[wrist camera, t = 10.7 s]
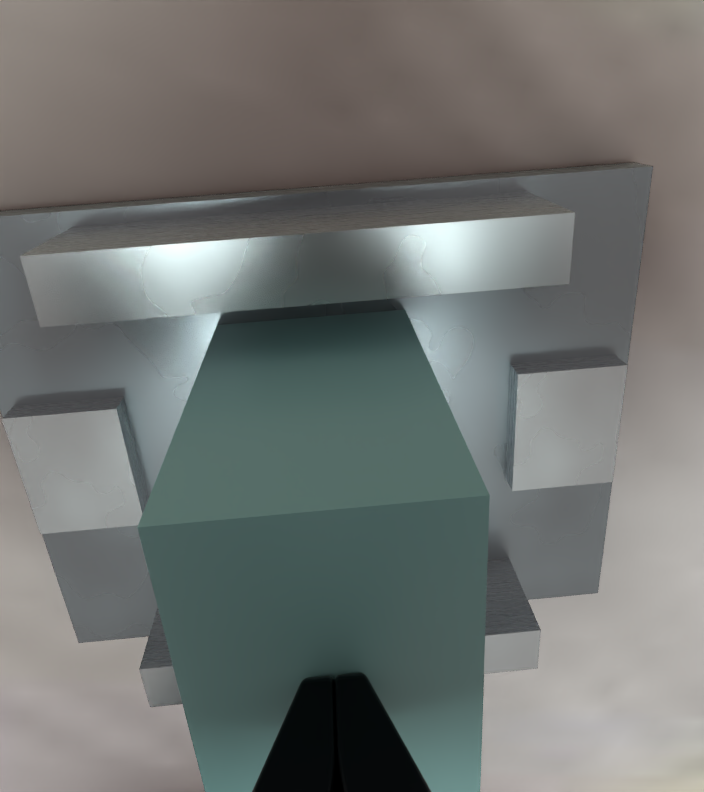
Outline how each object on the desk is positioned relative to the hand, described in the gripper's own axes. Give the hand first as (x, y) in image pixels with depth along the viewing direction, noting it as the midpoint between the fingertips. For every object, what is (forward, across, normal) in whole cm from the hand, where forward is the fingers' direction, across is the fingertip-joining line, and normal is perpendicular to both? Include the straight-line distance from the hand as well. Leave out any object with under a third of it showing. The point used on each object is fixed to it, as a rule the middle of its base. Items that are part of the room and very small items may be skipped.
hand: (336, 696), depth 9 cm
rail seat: (+8, 0, 0) cm, 8 cm away
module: (+7, 0, 0) cm, 7 cm away
